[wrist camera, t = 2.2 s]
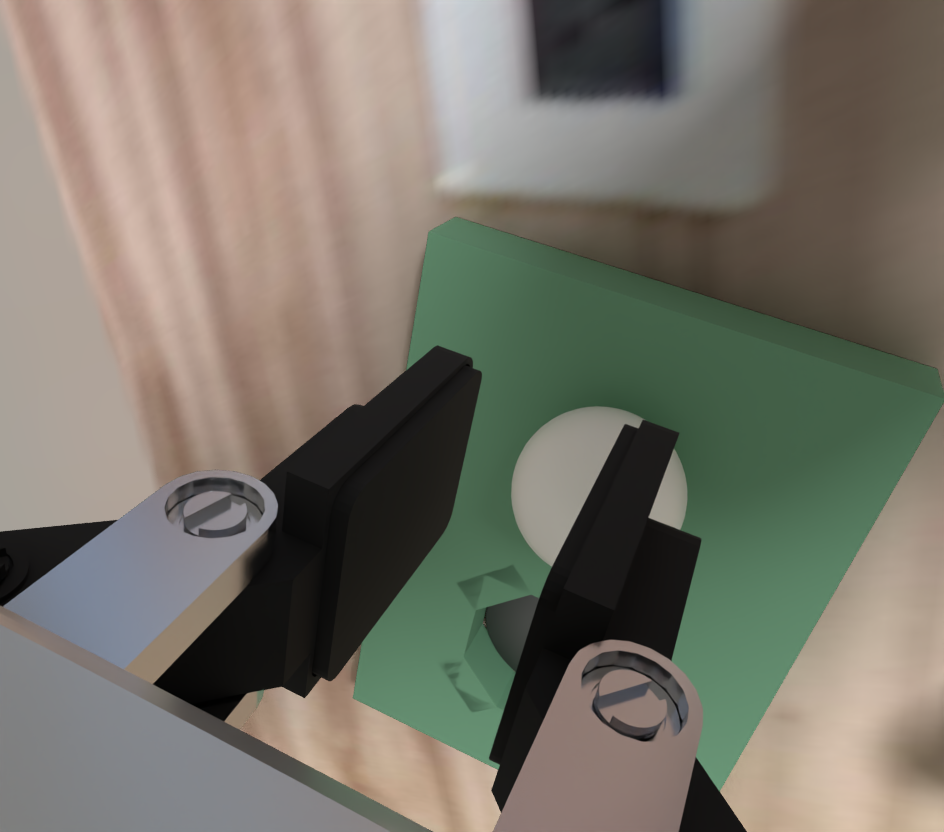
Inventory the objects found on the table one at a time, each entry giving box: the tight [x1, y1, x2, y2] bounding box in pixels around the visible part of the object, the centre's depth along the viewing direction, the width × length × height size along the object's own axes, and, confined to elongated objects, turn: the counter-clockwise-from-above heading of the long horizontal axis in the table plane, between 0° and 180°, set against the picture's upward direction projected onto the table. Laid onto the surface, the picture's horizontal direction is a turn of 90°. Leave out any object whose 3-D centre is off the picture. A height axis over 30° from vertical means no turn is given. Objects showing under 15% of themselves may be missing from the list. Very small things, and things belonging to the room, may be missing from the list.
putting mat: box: [353, 217, 944, 792], centre depth 35 cm, size 26×18×2 cm
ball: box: [511, 406, 687, 567], centre depth 28 cm, size 6×6×6 cm
